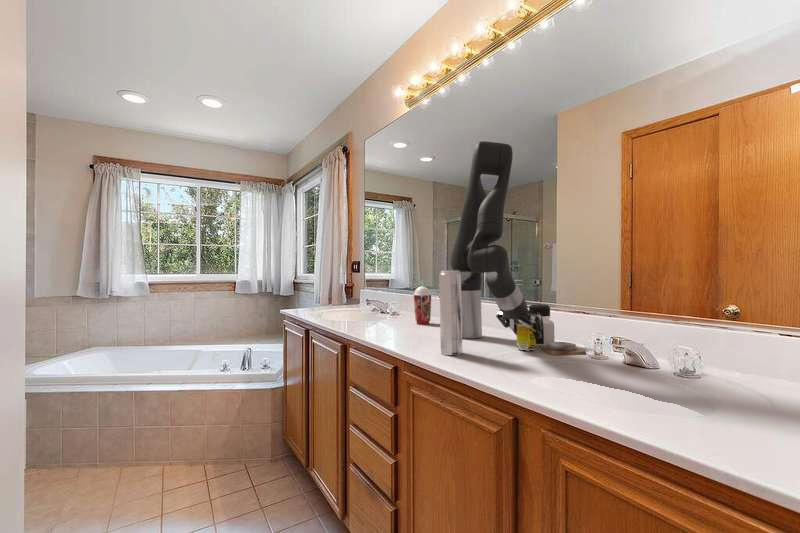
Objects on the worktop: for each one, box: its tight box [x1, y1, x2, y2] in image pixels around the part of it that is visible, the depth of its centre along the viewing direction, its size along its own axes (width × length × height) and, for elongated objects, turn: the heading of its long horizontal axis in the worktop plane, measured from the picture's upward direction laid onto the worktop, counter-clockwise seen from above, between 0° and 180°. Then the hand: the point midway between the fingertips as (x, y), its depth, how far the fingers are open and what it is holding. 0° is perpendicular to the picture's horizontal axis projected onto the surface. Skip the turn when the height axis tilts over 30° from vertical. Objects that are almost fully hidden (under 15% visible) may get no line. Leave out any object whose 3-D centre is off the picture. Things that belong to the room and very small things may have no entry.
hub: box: [537, 341, 587, 356], centre depth 117 cm, size 10×10×2 cm
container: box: [528, 303, 556, 347], centre depth 129 cm, size 8×8×13 cm
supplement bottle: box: [516, 324, 537, 352], centre depth 120 cm, size 6×6×10 cm
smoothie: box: [413, 279, 432, 326], centre depth 180 cm, size 8×8×20 cm
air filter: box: [438, 270, 464, 356], centre depth 117 cm, size 6×6×25 cm
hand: (528, 335), depth 121 cm, fingers closed on supplement bottle, 5 cm apart
